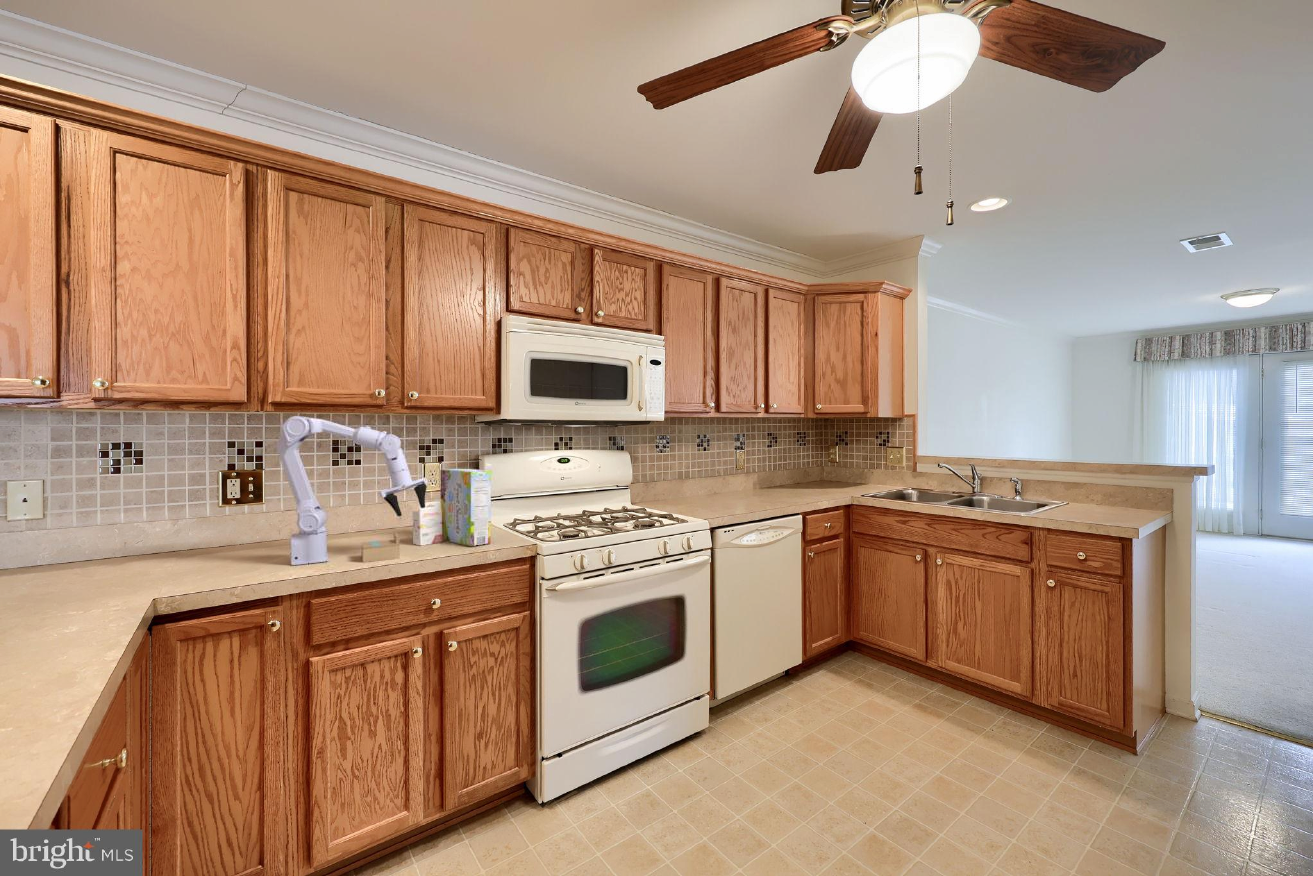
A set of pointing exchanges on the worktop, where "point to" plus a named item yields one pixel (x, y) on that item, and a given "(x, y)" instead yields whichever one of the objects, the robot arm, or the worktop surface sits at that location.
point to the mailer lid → (382, 543)
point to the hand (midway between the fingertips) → (411, 511)
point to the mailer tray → (380, 553)
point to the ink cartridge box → (427, 524)
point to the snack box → (466, 506)
